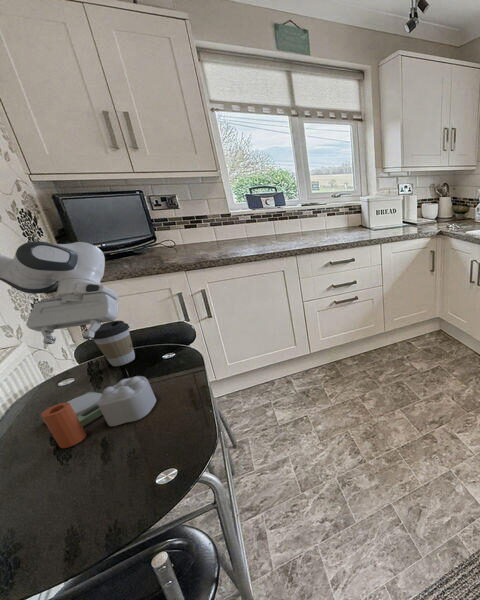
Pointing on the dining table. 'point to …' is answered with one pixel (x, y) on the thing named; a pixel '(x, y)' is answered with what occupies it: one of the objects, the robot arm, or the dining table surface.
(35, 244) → the robot arm
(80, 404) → the scale
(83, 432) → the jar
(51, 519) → the dining table surface
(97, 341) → the coffee cup
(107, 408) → the lumpy-topped squat cylinder
